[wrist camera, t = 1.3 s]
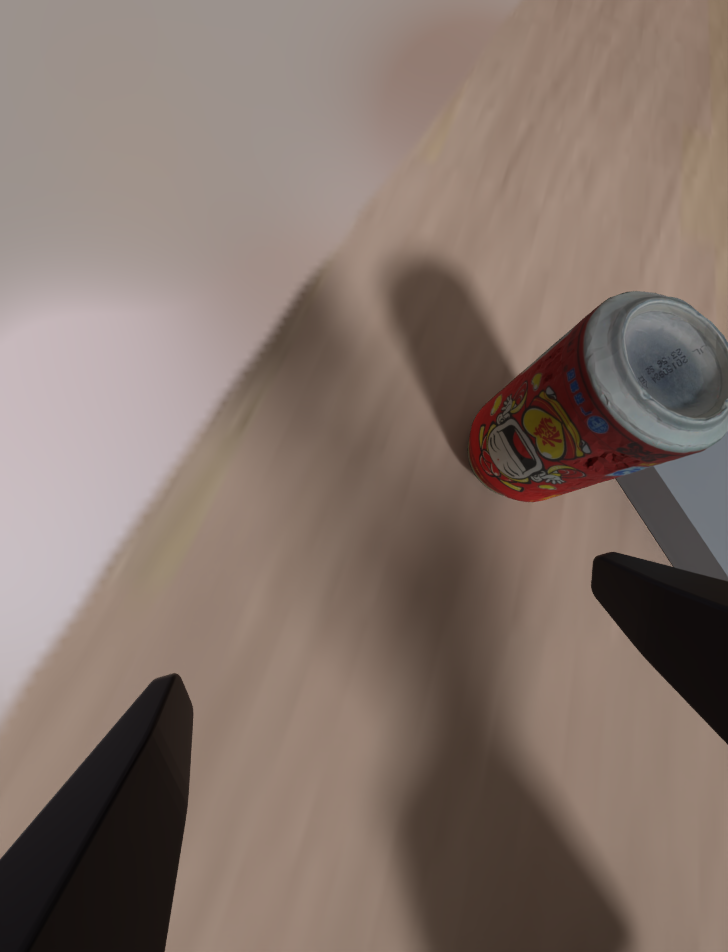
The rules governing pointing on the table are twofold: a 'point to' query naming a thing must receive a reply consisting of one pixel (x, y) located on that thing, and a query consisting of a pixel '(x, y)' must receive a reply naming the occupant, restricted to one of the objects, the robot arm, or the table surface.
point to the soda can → (606, 401)
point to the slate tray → (687, 508)
